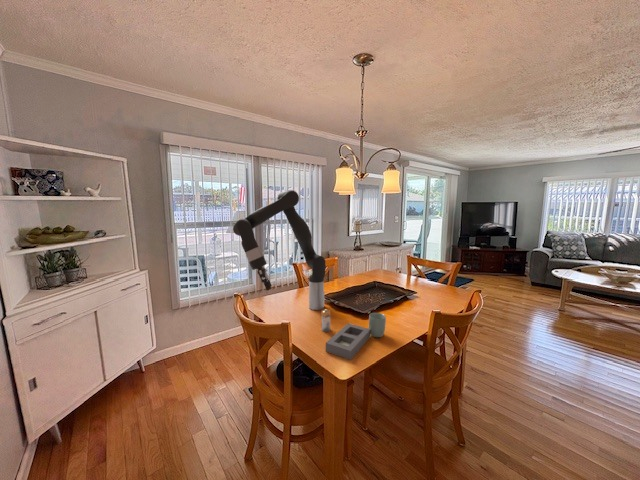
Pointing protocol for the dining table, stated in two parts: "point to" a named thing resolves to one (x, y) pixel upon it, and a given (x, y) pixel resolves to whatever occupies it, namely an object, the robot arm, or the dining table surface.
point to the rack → (348, 341)
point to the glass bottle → (325, 320)
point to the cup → (377, 324)
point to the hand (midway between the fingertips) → (269, 288)
